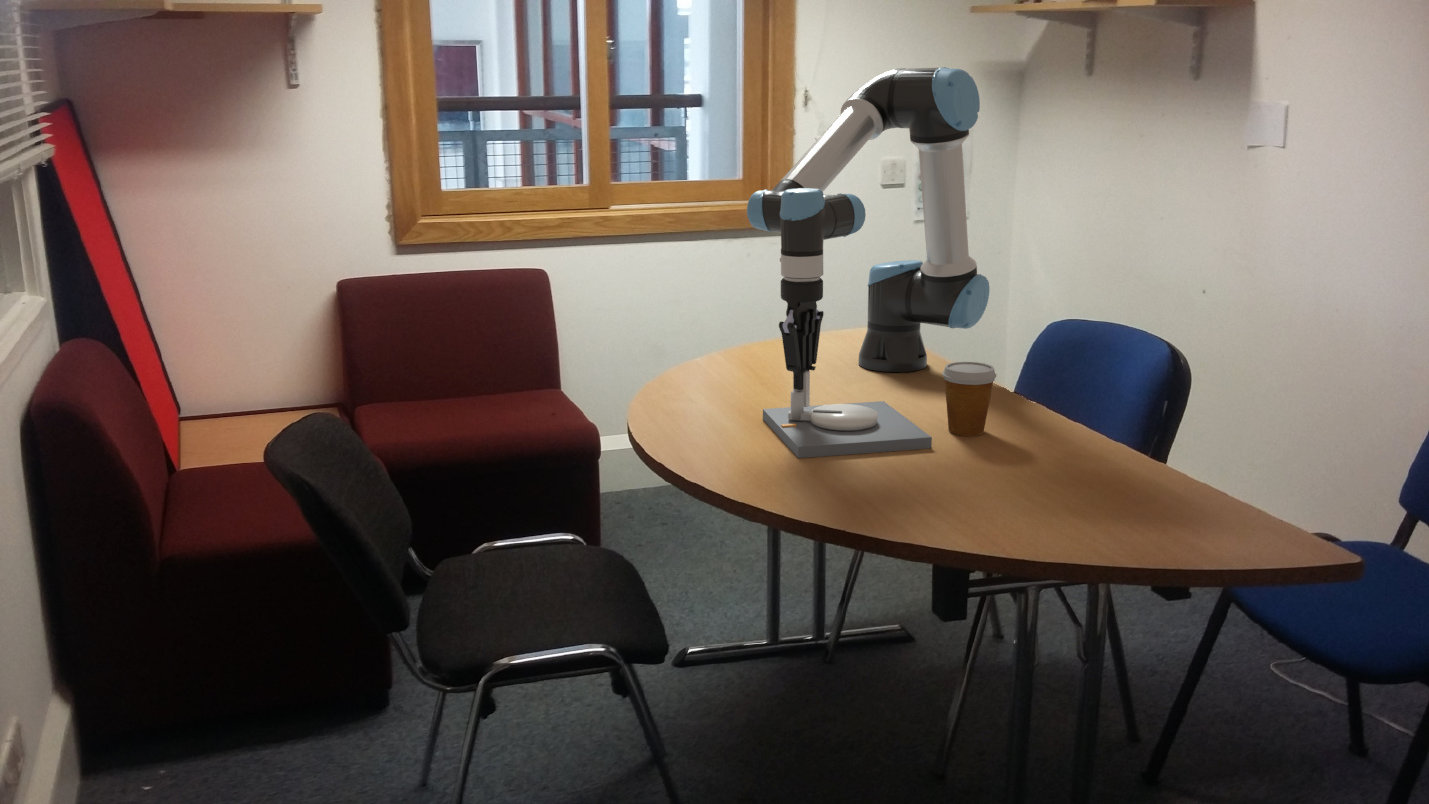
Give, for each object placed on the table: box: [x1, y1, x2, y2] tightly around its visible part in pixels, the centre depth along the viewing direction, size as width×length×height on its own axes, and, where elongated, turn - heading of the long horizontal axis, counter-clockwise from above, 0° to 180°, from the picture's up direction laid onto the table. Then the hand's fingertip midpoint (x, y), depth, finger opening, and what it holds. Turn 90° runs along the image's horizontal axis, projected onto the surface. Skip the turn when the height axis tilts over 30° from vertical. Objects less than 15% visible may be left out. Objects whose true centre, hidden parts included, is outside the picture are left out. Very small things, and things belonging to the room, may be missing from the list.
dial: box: [788, 390, 878, 431], centre depth 210 cm, size 16×12×5 cm
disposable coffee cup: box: [941, 361, 997, 437], centre depth 210 cm, size 10×10×12 cm
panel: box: [762, 400, 933, 459], centre depth 210 cm, size 24×24×2 cm
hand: (801, 405), depth 212 cm, fingers closed
